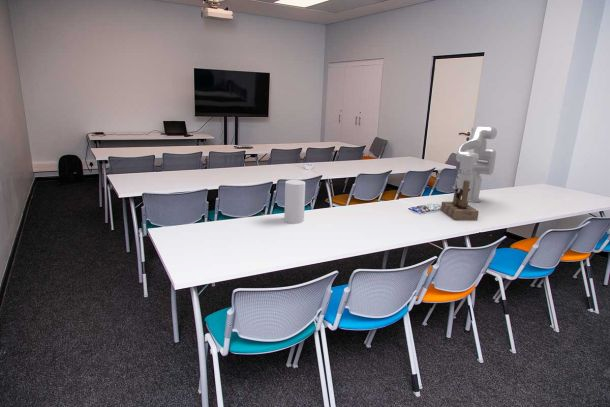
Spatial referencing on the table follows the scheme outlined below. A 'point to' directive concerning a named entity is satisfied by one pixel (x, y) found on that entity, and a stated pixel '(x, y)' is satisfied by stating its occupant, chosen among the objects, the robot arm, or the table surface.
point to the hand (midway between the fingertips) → (461, 197)
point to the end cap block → (459, 211)
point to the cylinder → (294, 201)
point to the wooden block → (462, 193)
